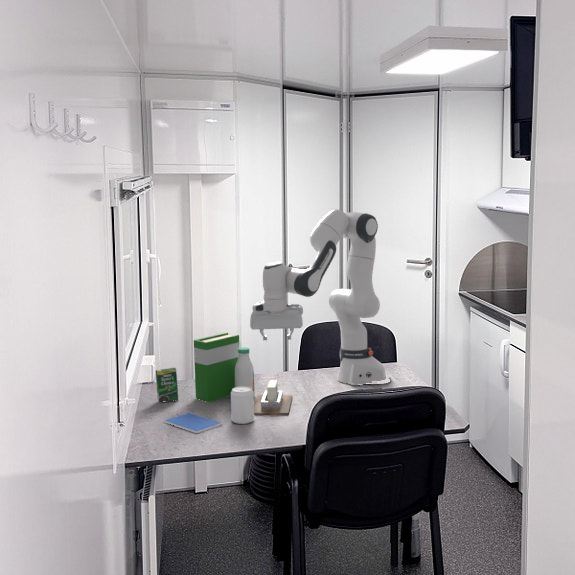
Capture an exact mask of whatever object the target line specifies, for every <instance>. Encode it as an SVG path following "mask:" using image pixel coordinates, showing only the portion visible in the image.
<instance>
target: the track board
mask: <svg viewBox="0 0 575 575" xmlns="http://www.w3.org/2000/svg"><path fill="white" fill-rule="evenodd" d="M263 395H264V394H257V395H256V398H255V399H254V416H289V413H290V411H291V410H290V409H291V404H292V399H293V395H291V394H283V399H282V403H281V407H280V410H261V400H262V397H263Z"/></svg>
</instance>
